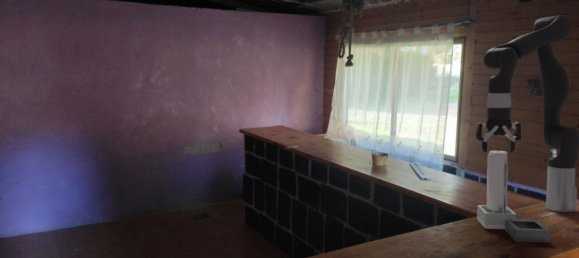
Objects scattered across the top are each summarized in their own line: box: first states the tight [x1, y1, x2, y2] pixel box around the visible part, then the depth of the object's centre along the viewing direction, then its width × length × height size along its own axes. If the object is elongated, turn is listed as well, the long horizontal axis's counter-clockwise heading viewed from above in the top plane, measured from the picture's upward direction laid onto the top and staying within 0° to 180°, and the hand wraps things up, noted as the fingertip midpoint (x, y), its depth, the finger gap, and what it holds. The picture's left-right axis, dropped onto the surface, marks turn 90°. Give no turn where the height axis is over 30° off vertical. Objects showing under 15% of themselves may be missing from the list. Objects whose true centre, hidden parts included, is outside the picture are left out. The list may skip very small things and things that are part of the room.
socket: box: [504, 219, 551, 244], centre depth 143 cm, size 10×10×4 cm
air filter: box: [486, 150, 509, 213], centre depth 155 cm, size 6×6×25 cm
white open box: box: [476, 204, 517, 230], centre depth 156 cm, size 10×10×6 cm
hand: (497, 152), depth 153 cm, fingers open, 8 cm apart
